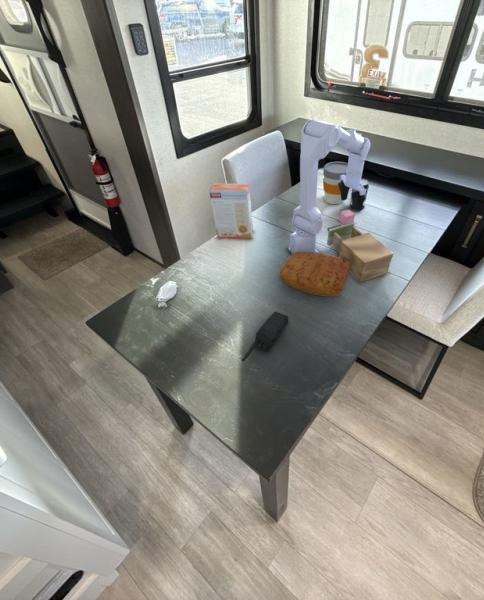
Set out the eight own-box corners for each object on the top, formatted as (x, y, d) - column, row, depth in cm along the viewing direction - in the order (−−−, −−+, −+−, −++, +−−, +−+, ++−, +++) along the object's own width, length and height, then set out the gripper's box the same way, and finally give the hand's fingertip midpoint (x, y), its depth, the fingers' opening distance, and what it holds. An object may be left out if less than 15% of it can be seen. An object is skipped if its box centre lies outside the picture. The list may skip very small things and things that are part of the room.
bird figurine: (175, 309, 102) (180, 283, 107) (164, 299, 96) (170, 272, 101) (162, 310, 103) (167, 285, 108) (150, 300, 97) (157, 274, 102)
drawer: (321, 238, 124) (322, 223, 119) (343, 231, 126) (346, 217, 121) (344, 262, 113) (347, 247, 108) (368, 254, 116) (372, 239, 111)
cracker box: (253, 231, 130) (249, 182, 115) (251, 239, 126) (247, 190, 111) (220, 230, 131) (212, 182, 116) (217, 238, 127) (208, 189, 112)
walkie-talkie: (294, 321, 93) (261, 370, 79) (281, 326, 97) (247, 373, 84) (282, 305, 91) (246, 352, 78) (269, 311, 96) (232, 357, 82)
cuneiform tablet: (352, 276, 109) (356, 258, 103) (336, 309, 99) (339, 291, 93) (294, 259, 116) (295, 242, 110) (273, 288, 106) (273, 270, 100)
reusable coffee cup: (316, 195, 150) (319, 163, 139) (340, 190, 152) (344, 159, 141) (327, 208, 141) (331, 175, 131) (352, 203, 144) (358, 170, 133)
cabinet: (338, 260, 116) (341, 240, 109) (364, 251, 119) (368, 232, 112) (359, 282, 107) (364, 263, 101) (387, 272, 110) (393, 253, 104)
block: (344, 226, 131) (346, 216, 128) (338, 220, 134) (340, 211, 131) (353, 223, 132) (355, 214, 129) (347, 218, 135) (349, 209, 132)
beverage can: (360, 212, 138) (365, 186, 129) (346, 208, 141) (350, 182, 132) (366, 206, 141) (372, 180, 133) (353, 202, 144) (358, 177, 136)
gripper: (375, 176, 113) (368, 210, 123) (352, 161, 123) (347, 194, 133) (359, 180, 112) (353, 214, 121) (337, 165, 121) (333, 197, 131)
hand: (349, 204), depth 127 cm, fingers open, 7 cm apart
